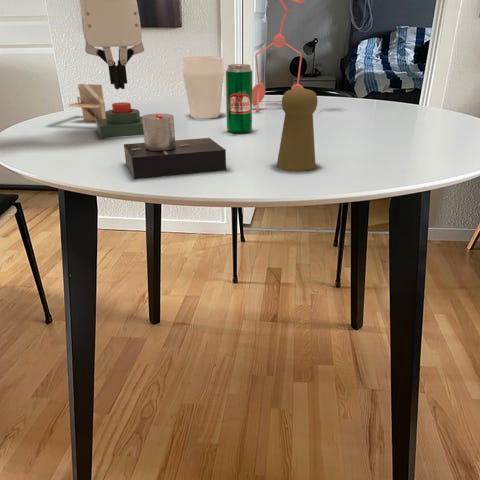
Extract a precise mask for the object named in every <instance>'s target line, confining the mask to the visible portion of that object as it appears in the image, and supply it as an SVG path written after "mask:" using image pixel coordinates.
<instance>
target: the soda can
mask: <svg viewBox="0 0 480 480" xmlns="http://www.w3.org/2000/svg"><path fill="white" fill-rule="evenodd" d="M252 89H253V70H252V68H251V64H246V63H232V64H228V65H227V69H226V70H225V100H226V101H225V105H226V106H225V107H226V109H225V110H226V111H225V112H226V130H227V131H228V133H230V134H237V135H238V134H240V135H241V134H249V133H250V132H251V131H252V129H253V104H252Z"/></svg>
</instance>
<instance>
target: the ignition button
mask: <svg viewBox="0 0 480 480" xmlns="http://www.w3.org/2000/svg"><path fill="white" fill-rule="evenodd" d="M111 108H112V109H111V110H113V113H129V112H132V111H131V109H132V104H131V103H130V102H125V101H123V102H113V103H112V104H111Z"/></svg>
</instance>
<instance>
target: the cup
mask: <svg viewBox="0 0 480 480" xmlns="http://www.w3.org/2000/svg"><path fill="white" fill-rule="evenodd" d="M224 69H225V68H224V58H223V56H186V57H183V59H182V75H183V80H184V87H185V92H186V98H187V103H188V107H189V108H188V109H189V114H190V117H191V118H193V119H200V120H201V119H203V120H204V119H205V120H206V119H208V120H209V119H211V120H212V119H216V118H219V117H220V115H221V104H222V97H223V96H222V95H223V86H224V85H223V84H224V76H225V71H224Z"/></svg>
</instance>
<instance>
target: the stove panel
mask: <svg viewBox="0 0 480 480" xmlns="http://www.w3.org/2000/svg"><path fill="white" fill-rule="evenodd" d="M175 144H176V147H175V148H174V149H172V150H167V151H150V150H147V149H145V142H136V143H135V142H134V143H124V144H123V151H124V160H125V164H126V166H127V168H128V170H129V172H130V174H131V175H132V177H133V179H144V178H145V179H146V178H155V177H157V178H158V177H165V176H177V175H188V174H198V173H208V172H219V171H227V150H226V148H224V147H223V146H221V145H220V144H218V143H217V142H216V141H214V139H212V138H211V137H202V138H188V139H175Z"/></svg>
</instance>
